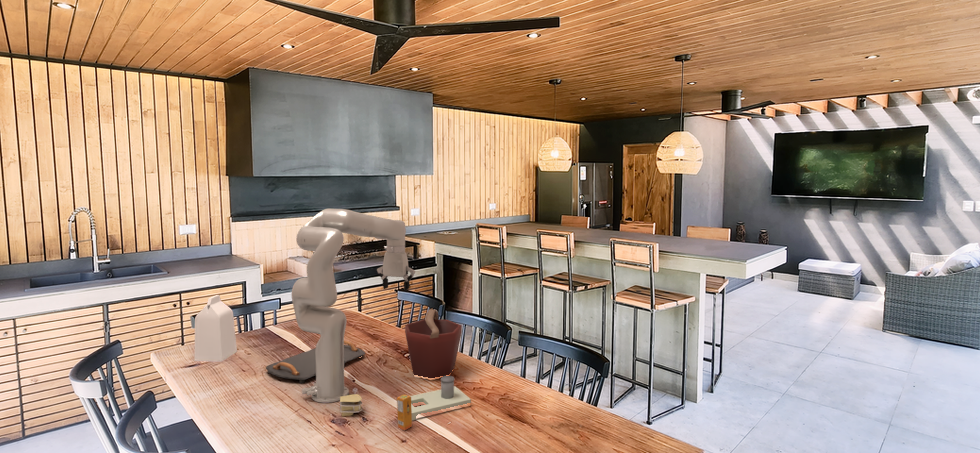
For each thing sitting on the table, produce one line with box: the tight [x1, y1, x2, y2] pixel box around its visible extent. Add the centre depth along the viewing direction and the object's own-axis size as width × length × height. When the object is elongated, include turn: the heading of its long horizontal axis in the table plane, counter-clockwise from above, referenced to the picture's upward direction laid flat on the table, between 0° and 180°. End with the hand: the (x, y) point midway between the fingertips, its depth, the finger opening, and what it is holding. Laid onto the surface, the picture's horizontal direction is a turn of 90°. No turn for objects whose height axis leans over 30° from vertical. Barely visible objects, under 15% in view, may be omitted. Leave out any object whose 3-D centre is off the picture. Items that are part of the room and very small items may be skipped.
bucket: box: [404, 309, 463, 378], centre depth 198 cm, size 24×22×25 cm
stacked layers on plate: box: [339, 393, 363, 417], centre depth 163 cm, size 10×9×6 cm
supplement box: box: [396, 393, 413, 431], centre depth 155 cm, size 3×3×10 cm
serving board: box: [265, 339, 366, 384], centre depth 205 cm, size 39×23×6 cm, turn 151°
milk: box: [194, 294, 238, 363], centre depth 212 cm, size 12×12×26 cm
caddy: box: [410, 375, 472, 422], centre depth 169 cm, size 22×12×9 cm, turn 120°
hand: (395, 289), depth 212 cm, fingers open, 9 cm apart
